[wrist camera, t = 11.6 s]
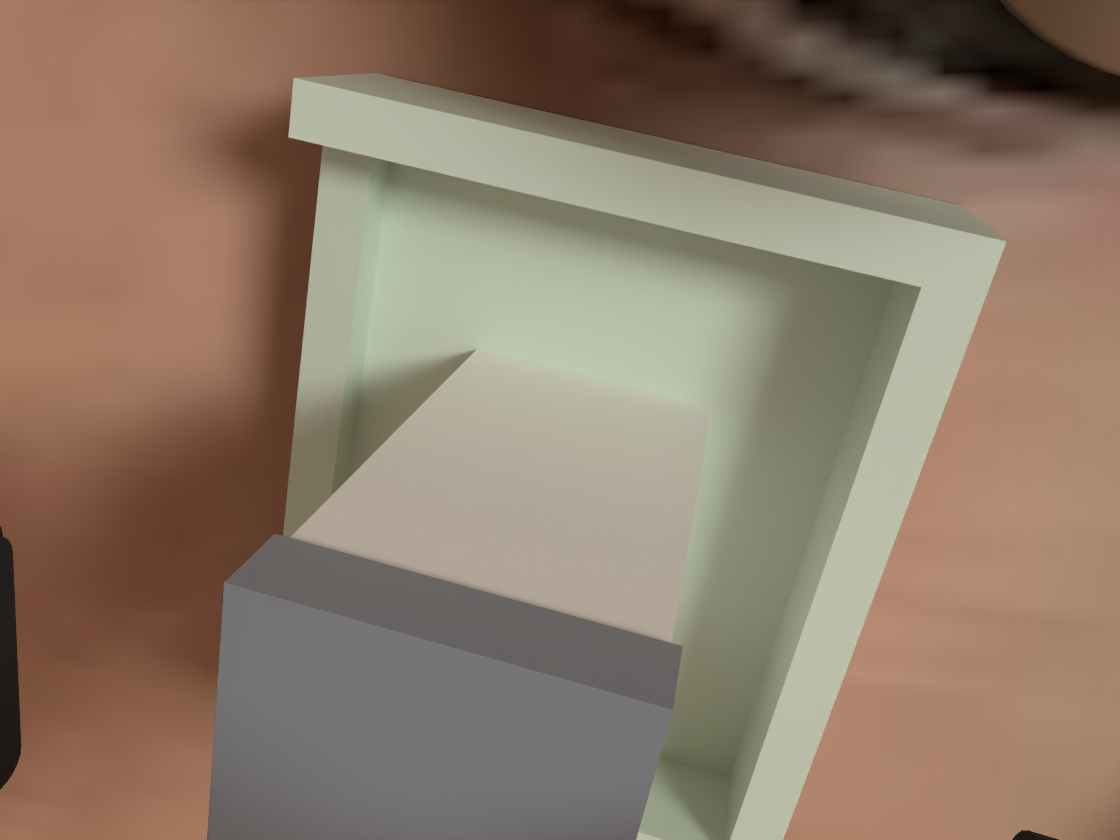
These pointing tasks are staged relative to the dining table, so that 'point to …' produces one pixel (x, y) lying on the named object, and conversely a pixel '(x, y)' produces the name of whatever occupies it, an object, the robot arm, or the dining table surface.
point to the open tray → (655, 371)
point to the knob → (1075, 28)
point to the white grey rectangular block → (468, 624)
